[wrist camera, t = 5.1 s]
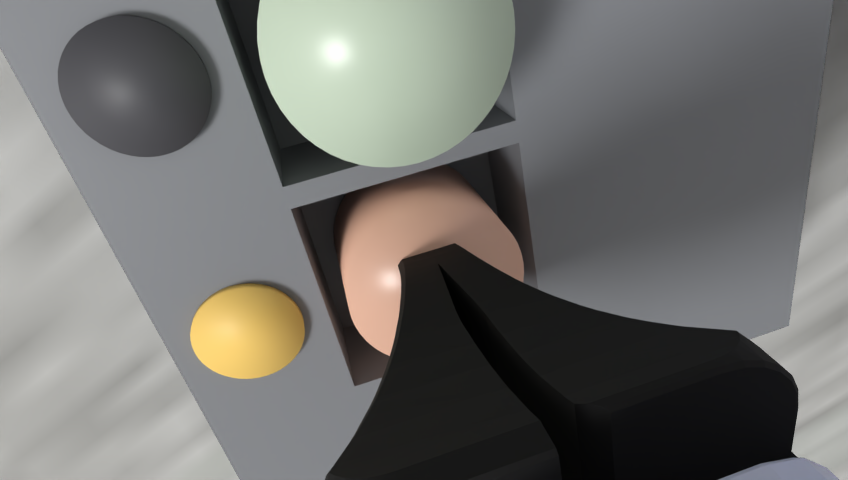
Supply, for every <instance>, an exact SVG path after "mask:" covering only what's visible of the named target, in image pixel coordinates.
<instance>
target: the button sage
mask: <svg viewBox="0 0 848 480" xmlns="http://www.w3.org/2000/svg"><path fill="white" fill-rule="evenodd" d="M514 42H515V17H514V8H513V2H512V0H260V3H259V11H258V19H257V43H258V50H259V57H260V62H261V66H262V69H263V73H264V77H265V79H266V82H267V84H268V87H269V89H270V91H271V94H272V96H273V97H274V99H275V101H276V103H277V104H278V106H279V108H280V110H281V111H282V112H283V114H284V115H285V116H286V118H287V119H288V120H289V122H290V123H291V124H292V125H293V126H294V127H295V128H296V129H297V130H298V131H299V132H300V133H301V134H302V135H303V136H304V137H305V138H307V139H308V140H309V141H310V142H312V143H313V144H314V145H316V146H317V147H319V148H321V149H322V150H324V151H325V152H327V153H329V154H331V155H333V156H335V157H338V158H340V159H342V160H345V161H348V162H352V163H355V164H359V165H365V166H371V167H389V168H390V167H400V166H407V165H412V164H416V163H420V162H423V161H426V160H429V159H431V158H434V157H436V156H438V155H440V154H442V153H444V152H446V151H448V150H449V149H451V148H452V147H454V146H455V145H457V144H458V143H460V142H461V141H462V140H463V139H465V138H466V137H467V136H468V135H469V134H471V133H472V132H473V131H474V130H475V129H476V127H477V126H478V125H479V124H480V123H481V122H482V121H483V120H484V118H485V117H486V116H487V114H488V113H489V112H490V110H491V109H492V107H493V106H494V104H495V102H496V100H497V99H498V97H499V95H500V93H501V91H502V88H503V86H504V84H505V81H506V79H507V76H508V72H509V69H510V66H511V62H512V56H513V50H514Z"/></svg>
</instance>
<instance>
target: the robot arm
mask: <svg viewBox="0 0 848 480" xmlns="http://www.w3.org/2000/svg"><path fill="white" fill-rule="evenodd" d="M398 268H399V272H400V276H401V299H400V310H399V318H398V323H397V328H396V333H395V338H394V342H393V346H392V350H391V354H390V357H389V360H388V363H387V366H386V369H385V372H384V375H383V377H382V380H381V382H380V385H379V387H378V390H377V392H376V394H375V396H374V399H373V401H372V403H371V405H370V407H369V409H368V411H367V412H366V414H365V416H364V418H363V420H362V422H361V423H360V425H359V427H358V429H357V431H356V433H355V434H354V436H353V438H352V439H351V441H350V443H349V444H348V445H347V447H346V448H345V450H344V451H343V453H342V454H341V455H340V457H339V458H338V460H337V461H336V463H335V464H334V466H333V467H332V468H331V470H330V471H329V472H328V474H327V475H326V478H325V480H839V479H838V478H837V477H836V476H835V475H834V474H833V473H832V472H831V471H830V470H828V469H827V468H826V467H824V466H822V465H819V464H817V463H815V462H812V461H810V460H808V459H806V458H798V457H796V456H795V455H794V454H793V453H792V452H791V450H792V443H793V437H794V431H795V425H796V419H797V412H798V388H797V385H796V383H795V381H794V378H793V376H792V375H791V374H790V373H789V372H788V371H787V370H785V369H784V368H783V367H782V366H781V365H780V364H778V363H777V362H776V361H775V360H774V359H773V358H771V357H770V356H769V355H768V354H767V353H766V352H764V351H763V350H762V349H761V348H760V347H758V346H757V345H756V344H754V343H753V342H752V341H750V340H749V339H748V338H746V337H745V336H743V335H742V334H741V333H739V332H738V331H735V330H723V329H710V328H697V327H685V326H676V325H669V324H663V323H656V322H650V321H644V320H638V319H633V318H628V317H623V316H619V315H615V314H611V313H607V312H603V311H599V310H595V309H592V308H588V307H585V306H582V305H579V304H576V303H573V302H570V301H567V300H564V299H561V298H558V297H556V296H553V295H550V294H548V293H545V292H543V291H541V290H539V289H536V288H534V287H532V286H530V285H528V284H525V283H523V282H521V281H519V280H517V279H515V278H513V277H511V276H510V275H508V274H506V273H504V272H502V271H500V270H499V269H497V268H495V267H493V266H492V265H490V264H488V263H487V262H485V261H483V260H482V259H480V258H478V257H477V256H475V255H474V254H472V253H470V252H469V251H467V250H466V249H464V248H462V247H461V246H459V245H457V244H456V243H453V244H450V245H447V246H444V247H441V248H437V249H434V250H431V251H428V252H424V253H421V254H418V255H415V256H411V257H408V258H405V259H402V260H401V261H400V263H399V264H398Z"/></svg>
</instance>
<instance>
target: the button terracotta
mask: <svg viewBox="0 0 848 480" xmlns="http://www.w3.org/2000/svg"><path fill="white" fill-rule="evenodd" d="M333 235H334V245H335V249H336V254H337V258H338V262H339V267H340V271H341V276H342V280H343V285H344V289H345V294H346V298H347V303H348V307H349V311H350V315H351V318H352V320H353V323H354V325H355V327H356V328H357V330H358V331H359V333H360V334H361V336H362V337H363V338H364V339H365V340H366V341H367V342H368V343H369V344H370V345H372V346H373V347H374V348H376V349H377V350H379V351H380V352H382V353H384V354H386V355H388V356H390V354H391V350H392V346H393V342H394V338H395V333H396V328H397V323H398V318H399V310H400V299H401V276H400V272H399V268H398V264H399V263H400V261H401V260H402V259H405V258H408V257H411V256H415V255H418V254H421V253H424V252H428V251H431V250H434V249H437V248H441V247H444V246H447V245H450V244H453V243H456V244H457V245H459V246H461V247H462V248H464V249H466V250H467V251H469V252H470V253H472V254H474V255H475V256H477V257H478V258H480V259H482V260H483V261H485V262H487V263H488V264H490V265H492V266H493V267H495V268H497V269H499V270H500V271H502V272H504V273H506V274H508V275H510V276H511V277H513V278H515V279H517V280H519V281H521V282H523V279H524V264H523V258H522V253H521V250H520V248H519V245H518V243H517V241H516V240H515V238H514V236H513V234H512V233H511V232H510V231H509V230H508V228H507V227H506V226H505V225H504V224H503V223H502V221H501V220H500V219H499V218H498V217H497V215H496V214H495V213H494V212H493V211H492V209H491V208H490V207H489V206H488V205H487V204H486V202H485V201H484V200H483V199H482V198H481V196H480V195H479V194H478V193H477V192H476V191H475V189H474V188H473V187H472V186H471V185H470V183H469V182H468V181H467V180H466V179H465V178H464V177H463V176H462V175H461V174H460V173H459V172H457V171H456V170H454V169H453V168H451V167H450V166H448V165H445V164H444V165H441V166H437V167H434V168H430V169H427V170H424V171H420V172H417V173H413V174H410V175H406V176H403V177H399V178H396V179H393V180H389V181H386V182H382V183H379V184H375V185H372V186H369V187H365V188H362V189H358V190H355V191H351V192H348V193H347V194H346V195H345V197H344V198H343V200H342V202H341V204H340V206H339V208H338V211H337V214H336V217H335V222H334V233H333Z"/></svg>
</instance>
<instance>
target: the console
mask: <svg viewBox="0 0 848 480" xmlns="http://www.w3.org/2000/svg"><path fill="white" fill-rule="evenodd" d="M512 2H513V8H514V17H515V42H514V50H513V56H512V62H511V66H510V69H509V72H508V76H507V79H506V81H505V84H504V86H503V88H502V91H501V93H500V95H499V97H498V99H497V100H496V102H495V104H494V106H493V107H492V109H491V110H490V112H489V113H488V114H487V116H486V117H485V118H484V120H483V121H482V122H481V123H480V124H479V125H478V126H477V127H476V129H475V130H474V131H473V132H472V133H471V134H469V135H468V136H467V137H466V138H465V139H463V140H462V141H461V142H460V143H458V144H457V145H455V146H454V147H452V148H451V149H449V150H448V151H446V152H444V153H442V154H440V155H438V156H436V157H434V158H431V159H429V160H426V161H423V162H420V163H416V164H412V165H407V166H400V167H390V168H389V167H371V166H365V165H359V164H355V163H352V162H348V161H345V160H342V159H340V158H338V157H335V156H333V155H331V154H329V153H327V152H325V151H324V150H322V149H321V148H319V147H317V146H316V145H314V144H313V143H312V142H310V141H309V140H308V139H307V138H305V137H304V136H303V135H302V134H301V133H300V132H299V131H298V130H297V129H296V128H295V127H294V126H293V125H292V124H291V123H290V122H289V120H288V119H287V118H286V116H285V115H284V114H283V112H282V111H281V110H280V108H279V106H278V104H277V103H276V101H275V99H274V97H273V96H272V94H271V91H270V89H269V87H268V84H267V82H266V79H265V77H264V73H263V69H262V66H261V62H260V57H259V50H258V43H257V19H258V11H259V3H260V0H0V49H1V50H2V52H3V54H4V56H5V58H6V59H7V61H8V63H9V65H10V67H11V68H12V70H13V72H14V74H15V76H16V77H17V79H18V81H19V83H20V85H21V86H22V88H23V90H24V92H25V94H26V95H27V97H28V99H29V101H30V103H31V104H32V106H33V108H34V110H35V112H36V113H37V115H38V117H39V119H40V121H41V122H42V124H43V126H44V128H45V130H46V131H47V133H48V135H49V137H50V139H51V140H52V142H53V144H54V146H55V148H56V149H57V151H58V153H59V155H60V157H61V158H62V160H63V162H64V164H65V166H66V167H67V169H68V171H69V173H70V175H71V176H72V178H73V180H74V182H75V184H76V185H77V187H78V189H79V191H80V193H81V194H82V196H83V198H84V200H85V202H86V203H87V205H88V207H89V209H90V211H91V212H92V214H93V216H94V218H95V220H96V221H97V223H98V225H99V227H100V229H101V230H102V232H103V234H104V236H105V238H106V239H107V241H108V243H109V245H110V247H111V248H112V250H113V252H114V254H115V256H116V257H117V259H118V261H119V263H120V265H121V266H122V268H123V270H124V272H125V274H126V275H127V277H128V279H129V281H130V283H131V284H132V286H133V288H134V290H135V292H136V293H137V295H138V297H139V299H140V301H141V303H142V304H143V306H144V308H145V310H146V312H147V313H148V315H149V317H150V319H151V321H152V322H153V324H154V326H155V328H156V330H157V331H158V333H159V335H160V337H161V339H162V340H163V342H164V344H165V346H166V348H167V349H168V351H169V353H170V355H171V357H172V358H173V360H174V362H175V364H176V366H177V367H178V369H179V371H180V373H181V375H182V376H183V378H184V380H185V382H186V384H187V385H188V387H189V389H190V391H191V393H192V394H193V396H194V398H195V400H196V402H197V403H198V405H199V407H200V409H201V411H202V412H203V414H204V416H205V418H206V420H207V421H208V423H209V425H210V427H211V429H212V430H213V432H214V434H215V436H216V438H217V439H218V441H219V443H220V445H221V447H222V448H223V450H224V452H225V454H226V456H227V457H228V459H229V461H230V463H231V465H232V466H233V468H234V470H235V472H236V474H237V475H238V477H239V479H240V480H325V478H326V475H327V474H328V472H329V471H330V470H331V468H332V467H333V466H334V464H335V463H336V461H337V460H338V458H339V457H340V455H341V454H342V453H343V451H344V450H345V448H346V447H347V445H348V444H349V443H350V441H351V439H352V438H353V436H354V434H355V433H356V431H357V429H358V427H359V425H360V423H361V422H362V420H363V418H364V416H365V414H366V412H367V411H368V409H369V407H370V405H371V403H372V401H373V399H374V396H375V394H376V392H377V390H378V387H379V385H380V382H381V380H382V377H383V375H384V372H385V369H386V366H387V363H388V360H389V357H390V356H388V355H386V354H384V353H382V352H380V351H379V350H377V349H376V348H374V347H373V346H372V345H370V344H369V343H368V342H367V341H366V340H365V339H364V338H363V337H362V336H361V334H360V333H359V331H358V330H357V328H356V327H355V325H354V323H353V320H352V318H351V315H350V311H349V307H348V303H347V298H346V294H345V289H344V285H343V280H342V276H341V271H340V267H339V262H338V258H337V254H336V249H335V245H334V235H333V233H334V222H335V217H336V214H337V211H338V208H339V206H340V204H341V202H342V200H343V198H344V197H345V195H346V194H347V193H348V192H351V191H355V190H358V189H362V188H365V187H369V186H372V185H375V184H379V183H382V182H386V181H389V180H393V179H396V178H399V177H403V176H406V175H410V174H413V173H417V172H420V171H424V170H427V169H430V168H434V167H437V166H441V165H444V164H445V165H448V166H450V167H451V168H453V169H454V170H456V171H457V172H459V173H460V174H461V175H462V176H463V177H464V178H465V179H466V180H467V181H468V182H469V183H470V185H471V186H472V187H473V188H474V189H475V191H476V192H477V193H478V194H479V195H480V196H481V198H482V199H483V200H484V201H485V202H486V204H487V205H488V206H489V207H490V208H491V209H492V211H493V212H494V213H495V214H496V215H497V217H498V218H499V219H500V220H501V221H502V223H503V224H504V225H505V226H506V227H507V228H508V230H509V231H510V232H511V233H512V234H513V236H514V238H515V240H516V241H517V243H518V245H519V248H520V250H521V253H522V258H523V264H524V279H523V283H525V284H528V285H530V286H532V287H534V288H536V289H539V290H541V291H543V292H545V293H548V294H550V295H553V296H556V297H558V298H561V299H564V300H567V301H570V302H573V303H576V304H579V305H582V306H585V307H588V308H592V309H595V310H599V311H603V312H607V313H611V314H615V315H619V316H623V317H628V318H633V319H638V320H644V321H650V322H656V323H663V324H669V325H676V326H685V327H697V328H710V329H723V330H735V331H738V332H739V333H741V334H742V335H743V336H745V337H746V338H748V339H752V338H755V337H758V336H761V335H764V334H766V333H769V332H772V331H775V330H778V329H781V328H784V327H787V326H789V320H790V313H791V306H792V298H793V291H794V284H795V277H796V269H797V262H798V255H799V247H800V240H801V233H802V226H803V218H804V211H805V204H806V197H807V189H808V182H809V175H810V167H811V160H812V153H813V146H814V138H815V131H816V124H817V117H818V109H819V102H820V95H821V87H822V80H823V73H824V66H825V58H826V51H827V44H828V37H829V29H830V22H831V15H832V7H833V0H512Z"/></svg>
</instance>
